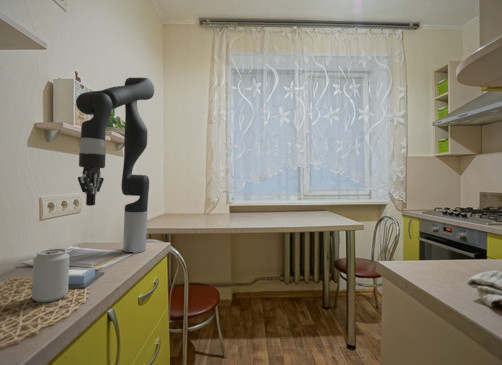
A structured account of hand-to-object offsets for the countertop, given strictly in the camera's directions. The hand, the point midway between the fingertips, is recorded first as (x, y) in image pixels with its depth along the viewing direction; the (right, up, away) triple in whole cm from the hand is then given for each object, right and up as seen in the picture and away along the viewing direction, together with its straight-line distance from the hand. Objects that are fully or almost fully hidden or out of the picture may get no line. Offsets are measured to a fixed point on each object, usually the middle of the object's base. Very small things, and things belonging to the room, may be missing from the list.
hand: (90, 205), depth 88 cm
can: (+2, -22, -20) cm, 30 cm away
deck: (0, -20, -6) cm, 21 cm away
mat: (-1, -22, -8) cm, 23 cm away
